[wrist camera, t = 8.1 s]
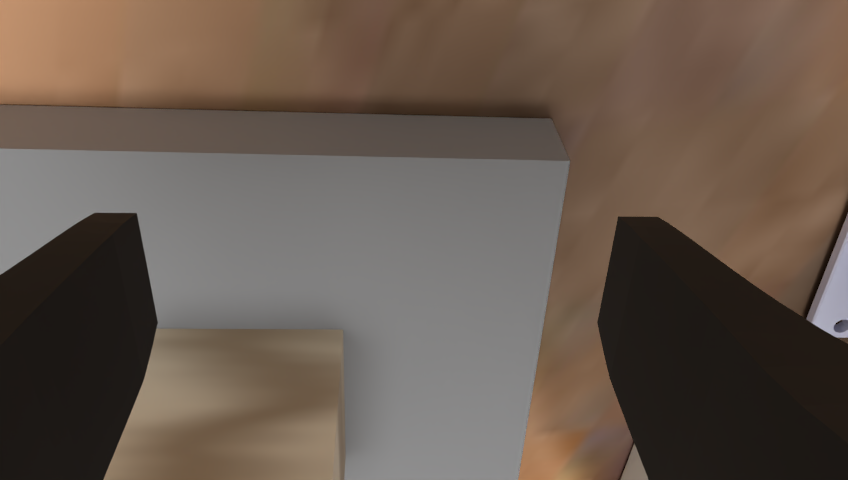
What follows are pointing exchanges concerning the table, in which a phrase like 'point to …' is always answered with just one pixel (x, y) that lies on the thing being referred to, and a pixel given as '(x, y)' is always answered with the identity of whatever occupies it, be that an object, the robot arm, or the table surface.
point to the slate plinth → (329, 251)
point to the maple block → (237, 407)
